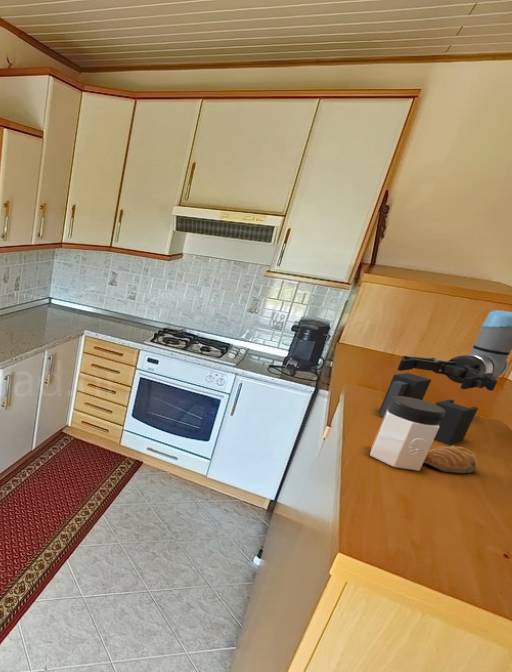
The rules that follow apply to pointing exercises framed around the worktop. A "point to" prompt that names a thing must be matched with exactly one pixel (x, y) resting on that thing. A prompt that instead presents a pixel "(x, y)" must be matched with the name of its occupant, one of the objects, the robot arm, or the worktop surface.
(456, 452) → the pastry
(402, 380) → the block
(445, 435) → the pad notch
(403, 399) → the jar
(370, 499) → the worktop surface
